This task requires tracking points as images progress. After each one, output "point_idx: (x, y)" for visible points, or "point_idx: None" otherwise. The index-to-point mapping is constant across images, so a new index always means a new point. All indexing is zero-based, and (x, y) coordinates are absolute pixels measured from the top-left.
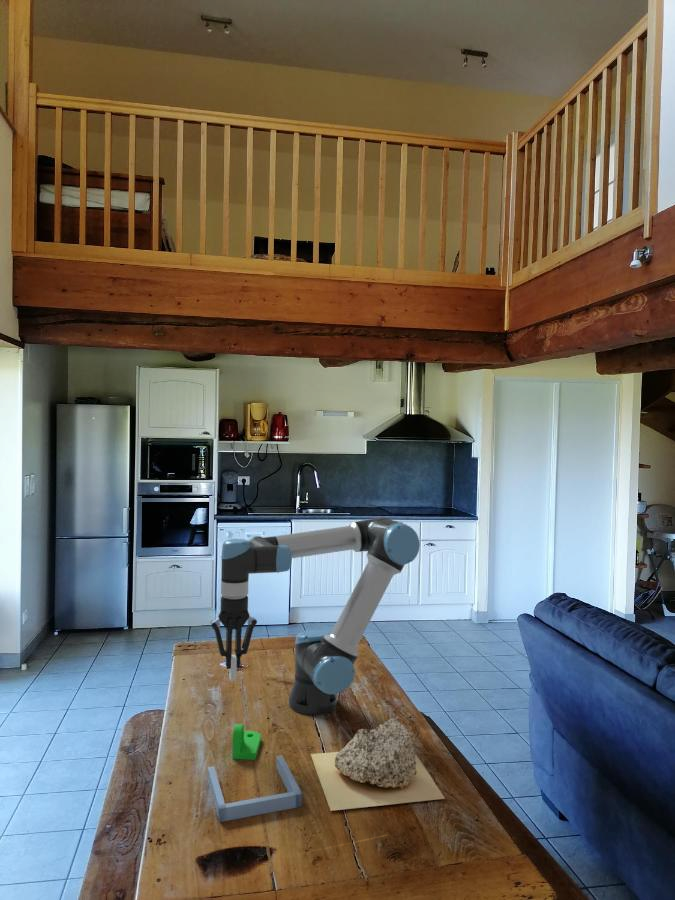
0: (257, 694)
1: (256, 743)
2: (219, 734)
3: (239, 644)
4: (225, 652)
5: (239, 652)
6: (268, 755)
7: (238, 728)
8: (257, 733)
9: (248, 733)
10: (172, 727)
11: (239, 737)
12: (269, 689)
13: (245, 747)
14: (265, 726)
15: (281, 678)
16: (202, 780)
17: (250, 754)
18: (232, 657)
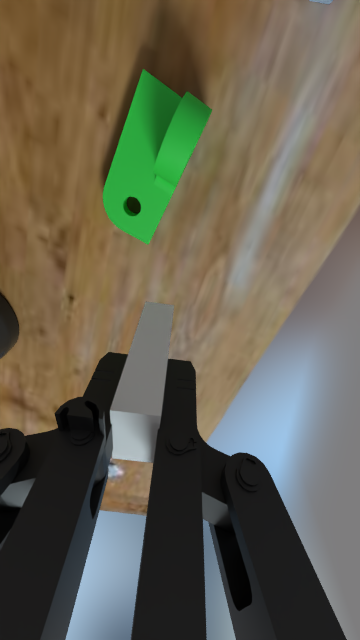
0: (80, 386)
1: (124, 145)
2: (194, 272)
3: (4, 599)
4: (213, 491)
5: (62, 458)
6: (100, 87)
7: (186, 119)
8: (109, 209)
9: (133, 220)
10: (269, 337)
11: (190, 94)
12: (55, 393)
13: (162, 134)
14: (83, 264)
15: (29, 416)
16: (346, 4)
17: (158, 80)
18: (146, 424)
